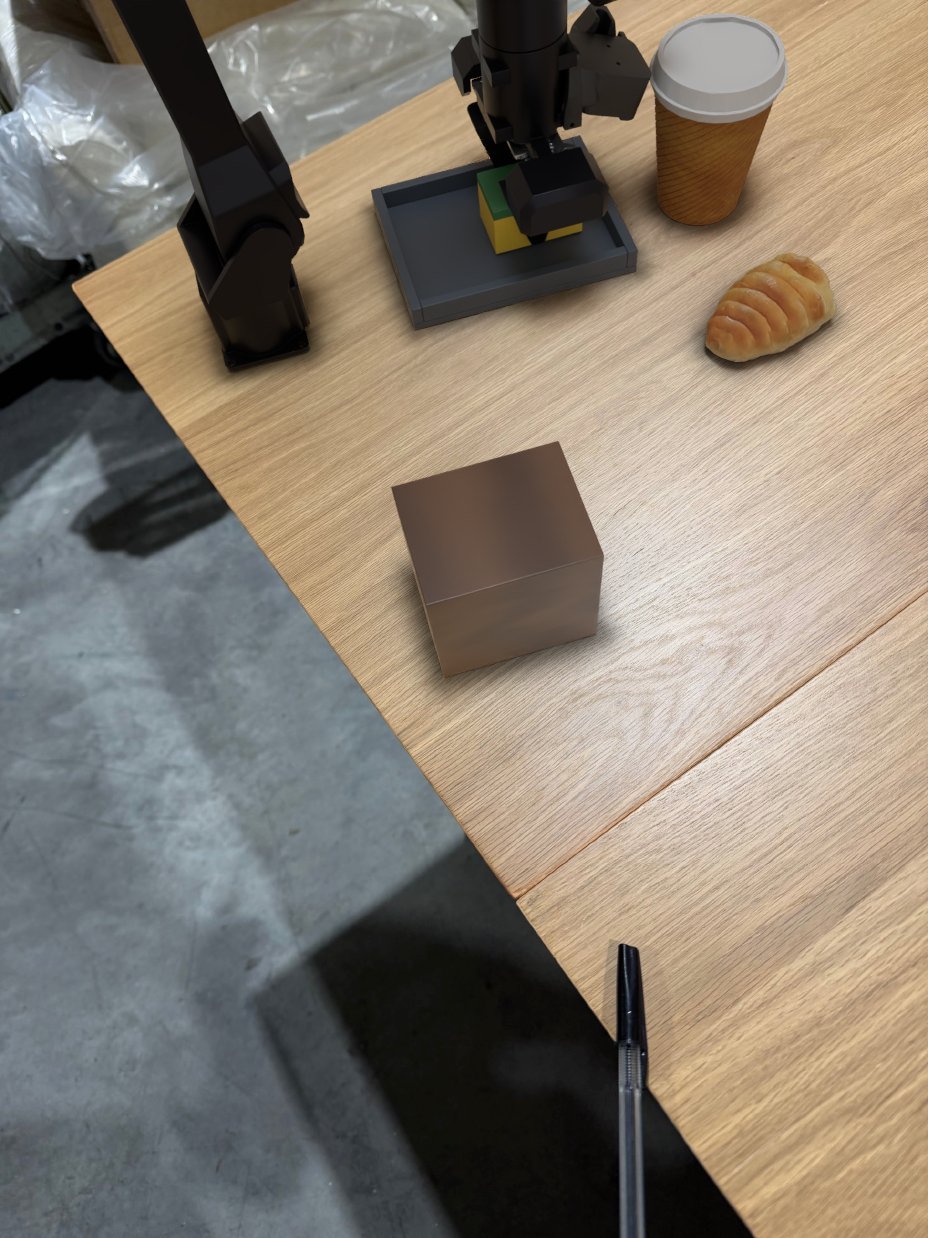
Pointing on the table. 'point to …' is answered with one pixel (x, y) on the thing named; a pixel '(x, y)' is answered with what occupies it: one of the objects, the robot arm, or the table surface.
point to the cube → (502, 557)
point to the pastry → (771, 309)
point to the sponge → (505, 213)
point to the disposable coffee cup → (712, 110)
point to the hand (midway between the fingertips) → (528, 221)
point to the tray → (484, 249)
